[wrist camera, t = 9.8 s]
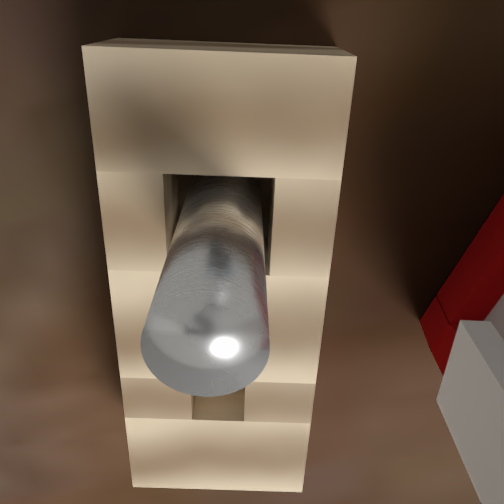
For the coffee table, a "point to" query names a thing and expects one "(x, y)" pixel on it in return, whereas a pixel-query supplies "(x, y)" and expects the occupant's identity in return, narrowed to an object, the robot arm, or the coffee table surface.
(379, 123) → the coffee table surface
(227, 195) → the pin
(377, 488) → the coffee table surface
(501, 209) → the fire alarm
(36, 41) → the coffee table surface
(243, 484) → the bore block
